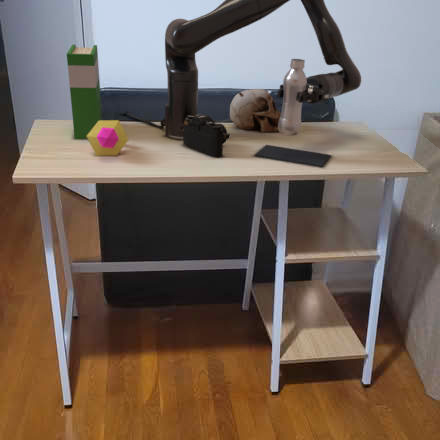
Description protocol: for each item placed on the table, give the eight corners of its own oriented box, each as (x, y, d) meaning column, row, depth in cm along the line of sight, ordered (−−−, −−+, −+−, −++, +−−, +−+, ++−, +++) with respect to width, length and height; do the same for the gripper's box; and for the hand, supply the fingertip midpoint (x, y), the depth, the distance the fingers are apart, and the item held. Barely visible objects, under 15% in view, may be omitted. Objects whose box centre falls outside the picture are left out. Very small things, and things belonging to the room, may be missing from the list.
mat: (254, 156, 162) (254, 154, 162) (266, 146, 171) (266, 144, 171) (322, 167, 156) (322, 165, 156) (330, 156, 165) (330, 154, 165)
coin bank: (291, 127, 189) (292, 87, 182) (257, 142, 180) (256, 99, 172) (258, 119, 199) (257, 80, 191) (223, 132, 190) (221, 92, 182)
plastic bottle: (304, 136, 159) (315, 61, 148) (287, 139, 155) (297, 62, 144) (288, 130, 163) (298, 57, 152) (271, 133, 159) (280, 58, 149)
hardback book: (79, 123, 184) (72, 44, 171) (102, 123, 185) (97, 45, 172) (74, 139, 169) (66, 53, 157) (99, 139, 170) (93, 54, 157)
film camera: (243, 148, 168) (245, 115, 163) (223, 159, 158) (225, 124, 153) (192, 138, 175) (193, 105, 170) (170, 148, 165) (170, 113, 160)
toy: (131, 147, 167) (114, 114, 164) (133, 147, 150) (115, 110, 147) (100, 162, 167) (83, 129, 163) (100, 164, 150) (81, 127, 146)
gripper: (299, 70, 165) (268, 77, 153) (343, 79, 158) (314, 86, 146) (295, 96, 169) (265, 105, 157) (338, 106, 162) (310, 115, 150)
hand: (289, 96), depth 151 cm, fingers closed on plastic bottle, 6 cm apart
